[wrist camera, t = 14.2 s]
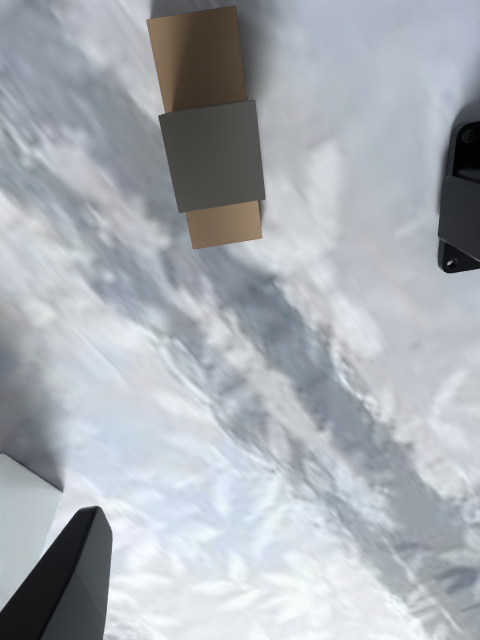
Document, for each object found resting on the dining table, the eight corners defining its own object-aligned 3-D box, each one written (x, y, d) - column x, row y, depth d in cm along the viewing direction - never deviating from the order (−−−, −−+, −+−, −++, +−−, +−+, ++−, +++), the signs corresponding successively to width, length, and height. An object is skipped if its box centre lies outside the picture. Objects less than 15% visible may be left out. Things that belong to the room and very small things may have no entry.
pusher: (233, 12, 14) (251, -42, 9) (258, 230, 18) (282, 285, 13) (150, 25, 14) (117, -21, 9) (193, 241, 18) (189, 300, 13)
